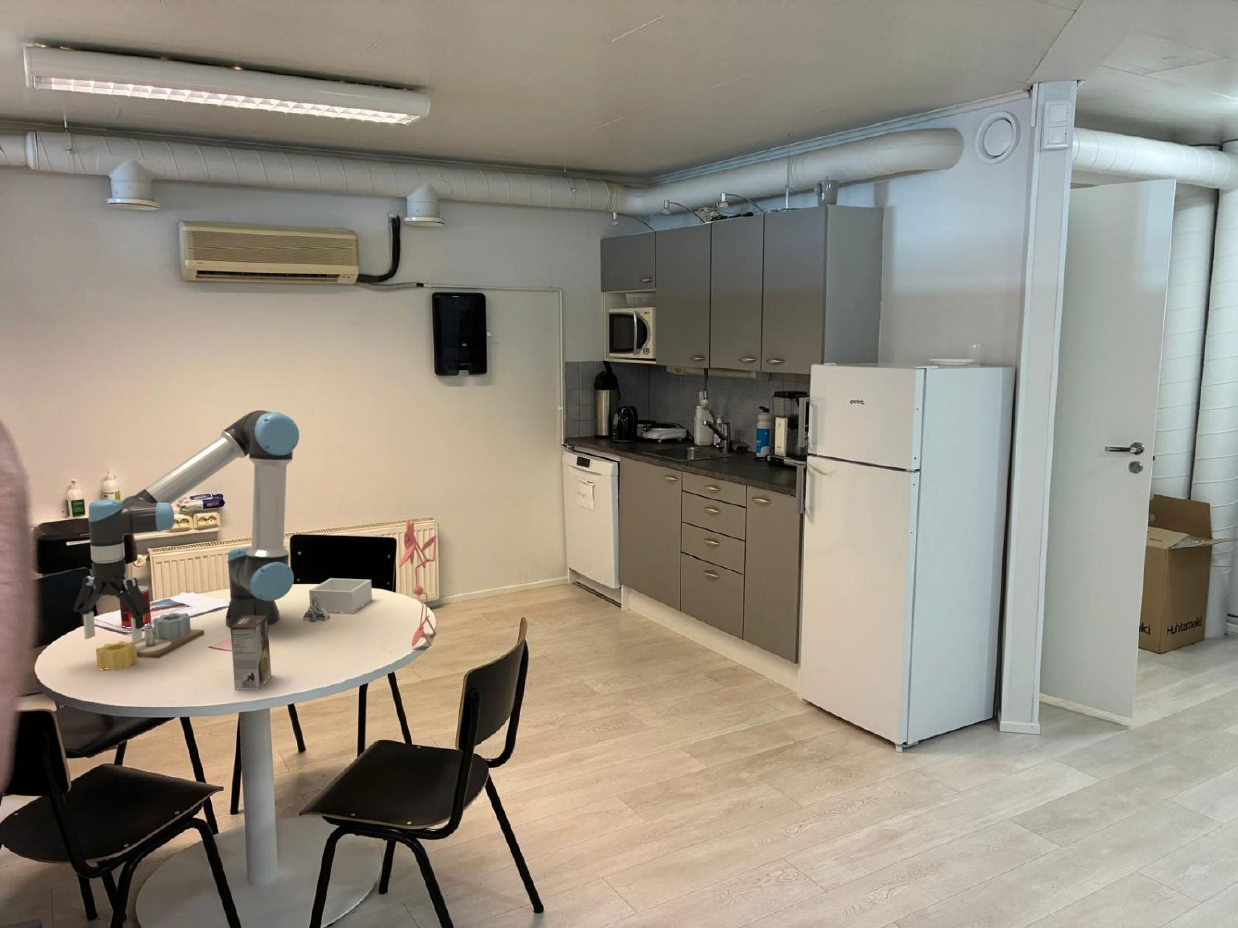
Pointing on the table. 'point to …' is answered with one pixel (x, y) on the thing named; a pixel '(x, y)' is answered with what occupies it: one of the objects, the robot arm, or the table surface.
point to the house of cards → (316, 612)
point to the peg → (149, 636)
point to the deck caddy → (342, 595)
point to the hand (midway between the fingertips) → (113, 638)
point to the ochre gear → (116, 655)
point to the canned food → (127, 614)
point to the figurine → (418, 590)
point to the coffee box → (250, 651)
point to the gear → (172, 626)
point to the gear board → (165, 645)
